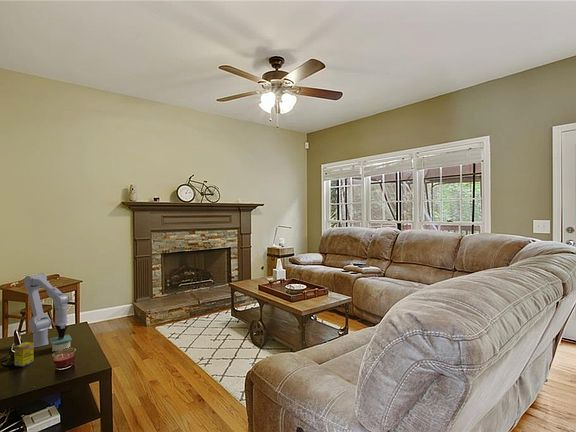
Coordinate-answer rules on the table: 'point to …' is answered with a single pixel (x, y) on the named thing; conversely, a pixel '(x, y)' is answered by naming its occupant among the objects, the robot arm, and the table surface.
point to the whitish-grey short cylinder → (60, 346)
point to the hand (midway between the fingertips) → (61, 337)
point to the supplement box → (24, 354)
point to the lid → (60, 339)
